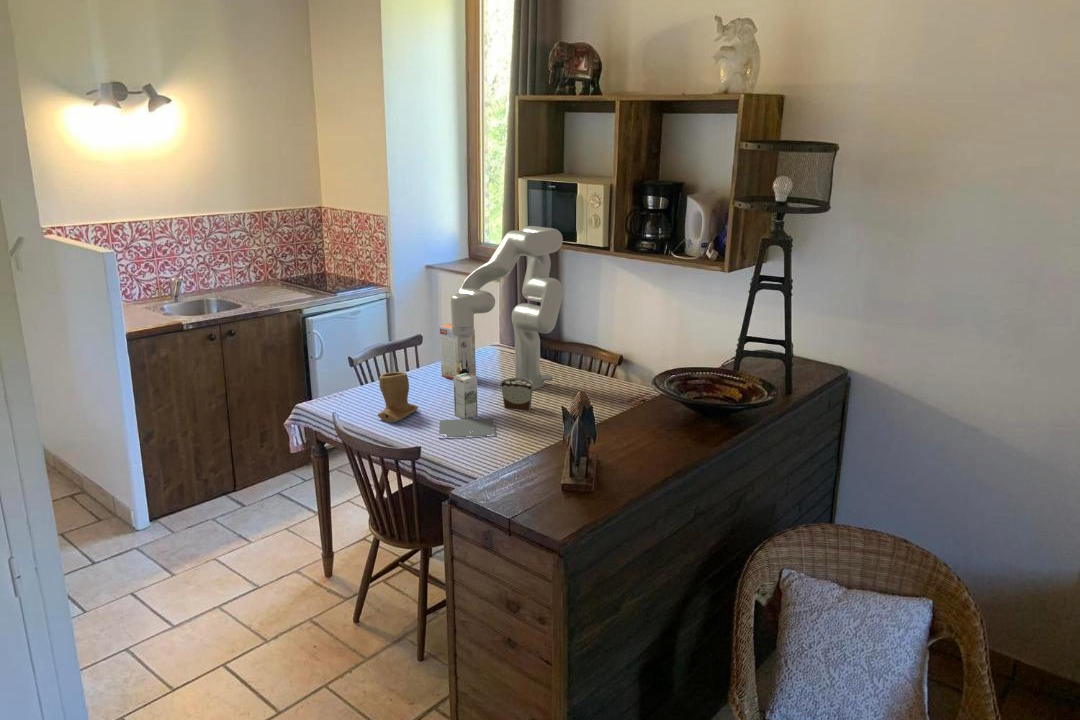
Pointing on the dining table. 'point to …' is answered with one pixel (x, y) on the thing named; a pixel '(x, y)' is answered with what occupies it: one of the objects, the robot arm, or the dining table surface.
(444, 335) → the cracker box
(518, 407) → the food container
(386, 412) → the stone cup
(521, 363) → the robot arm
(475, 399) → the syrup box
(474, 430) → the mat
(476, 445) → the dining table surface
